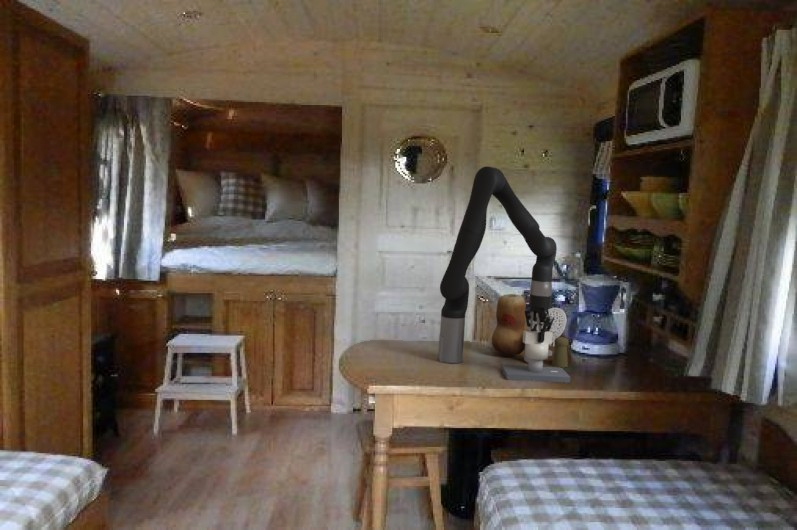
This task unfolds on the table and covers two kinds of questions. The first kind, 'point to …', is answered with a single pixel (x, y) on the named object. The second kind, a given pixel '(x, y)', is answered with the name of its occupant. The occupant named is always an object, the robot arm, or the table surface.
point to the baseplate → (535, 372)
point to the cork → (560, 352)
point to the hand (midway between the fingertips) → (537, 341)
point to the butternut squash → (509, 325)
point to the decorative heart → (555, 323)
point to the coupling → (537, 345)
